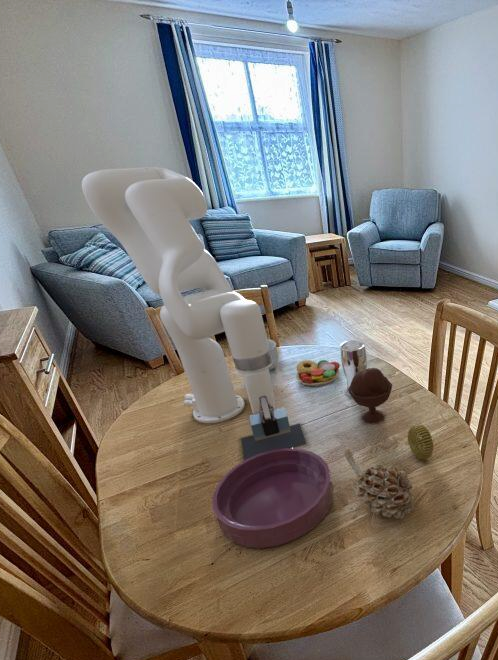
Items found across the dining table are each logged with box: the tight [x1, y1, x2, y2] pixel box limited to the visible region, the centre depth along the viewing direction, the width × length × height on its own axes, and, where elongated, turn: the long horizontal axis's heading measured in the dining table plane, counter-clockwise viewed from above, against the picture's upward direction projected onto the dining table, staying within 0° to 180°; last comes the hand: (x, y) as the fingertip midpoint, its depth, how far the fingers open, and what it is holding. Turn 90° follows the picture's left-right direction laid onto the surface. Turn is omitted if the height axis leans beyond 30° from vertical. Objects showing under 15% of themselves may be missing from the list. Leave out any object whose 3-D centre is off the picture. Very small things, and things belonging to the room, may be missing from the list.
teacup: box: [267, 338, 279, 372], centre depth 129 cm, size 14×11×8 cm
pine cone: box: [344, 447, 415, 519], centre depth 82 cm, size 22×10×10 cm, turn 46°
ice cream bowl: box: [348, 367, 393, 424], centre depth 104 cm, size 11×11×15 cm
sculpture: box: [407, 424, 434, 460], centre depth 93 cm, size 8×4×8 cm, turn 29°
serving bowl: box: [211, 447, 334, 549], centre depth 81 cm, size 22×22×6 cm
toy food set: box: [295, 359, 341, 387], centre depth 126 cm, size 13×13×3 cm
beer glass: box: [340, 339, 368, 398], centre depth 115 cm, size 7×7×15 cm
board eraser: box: [248, 406, 291, 441], centre depth 96 cm, size 8×4×4 cm, turn 116°
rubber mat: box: [240, 423, 307, 461], centre depth 99 cm, size 14×9×1 cm, turn 116°
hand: (270, 427), depth 97 cm, fingers closed on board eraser, 4 cm apart
